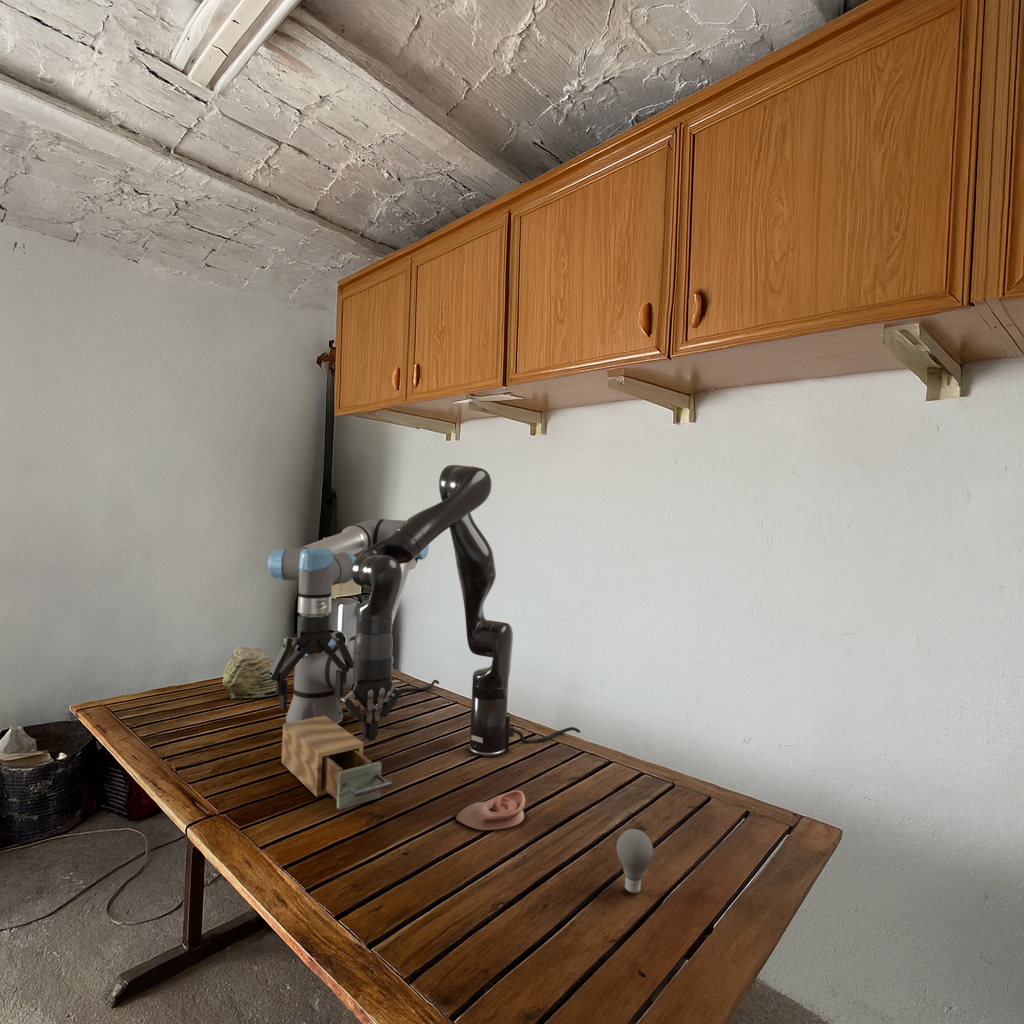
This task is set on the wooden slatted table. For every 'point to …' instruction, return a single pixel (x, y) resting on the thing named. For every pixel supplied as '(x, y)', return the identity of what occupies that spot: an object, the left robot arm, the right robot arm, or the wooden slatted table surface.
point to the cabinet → (314, 748)
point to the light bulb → (634, 857)
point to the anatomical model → (495, 812)
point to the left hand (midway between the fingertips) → (311, 703)
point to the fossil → (249, 674)
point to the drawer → (352, 778)
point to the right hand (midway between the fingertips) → (369, 739)
